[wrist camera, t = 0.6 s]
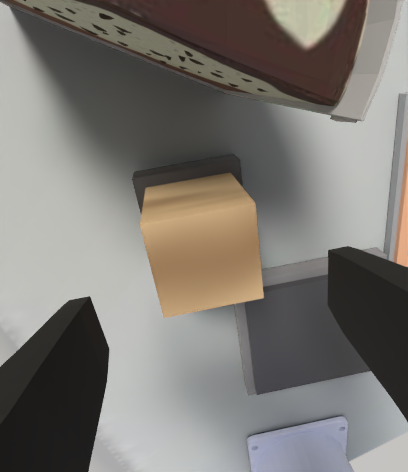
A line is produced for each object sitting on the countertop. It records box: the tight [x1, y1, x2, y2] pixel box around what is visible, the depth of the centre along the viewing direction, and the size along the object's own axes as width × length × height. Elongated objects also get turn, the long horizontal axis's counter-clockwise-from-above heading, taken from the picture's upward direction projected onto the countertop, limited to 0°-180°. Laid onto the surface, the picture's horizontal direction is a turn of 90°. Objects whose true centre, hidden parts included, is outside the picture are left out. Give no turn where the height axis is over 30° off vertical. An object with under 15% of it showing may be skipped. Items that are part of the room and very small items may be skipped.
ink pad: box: [234, 248, 387, 395], centre depth 21 cm, size 9×9×2 cm
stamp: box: [132, 154, 264, 318], centre depth 15 cm, size 5×5×6 cm
